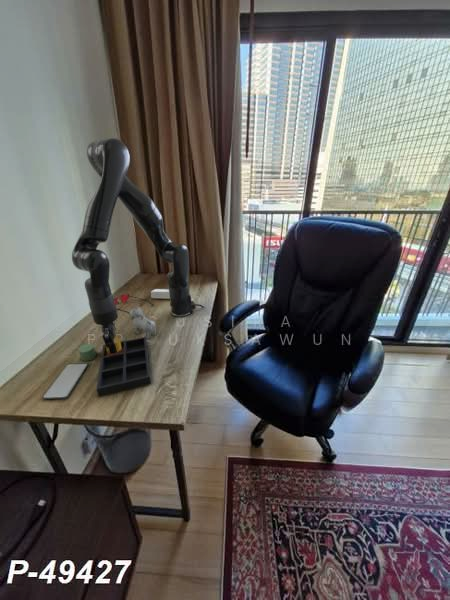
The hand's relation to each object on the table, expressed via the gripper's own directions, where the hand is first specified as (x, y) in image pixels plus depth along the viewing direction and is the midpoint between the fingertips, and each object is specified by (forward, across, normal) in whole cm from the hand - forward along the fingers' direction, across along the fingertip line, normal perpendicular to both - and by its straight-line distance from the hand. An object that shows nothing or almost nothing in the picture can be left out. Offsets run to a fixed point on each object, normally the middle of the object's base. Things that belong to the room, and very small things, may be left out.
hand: (114, 348), depth 91 cm
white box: (+4, +44, -24) cm, 50 cm away
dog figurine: (+4, +12, -11) cm, 16 cm away
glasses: (+4, +36, -6) cm, 36 cm away
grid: (+3, -7, -4) cm, 9 cm away
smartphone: (+3, -8, +14) cm, 17 cm away
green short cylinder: (+3, +3, +9) cm, 10 cm away
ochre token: (0, 0, 0) cm, 0 cm away
